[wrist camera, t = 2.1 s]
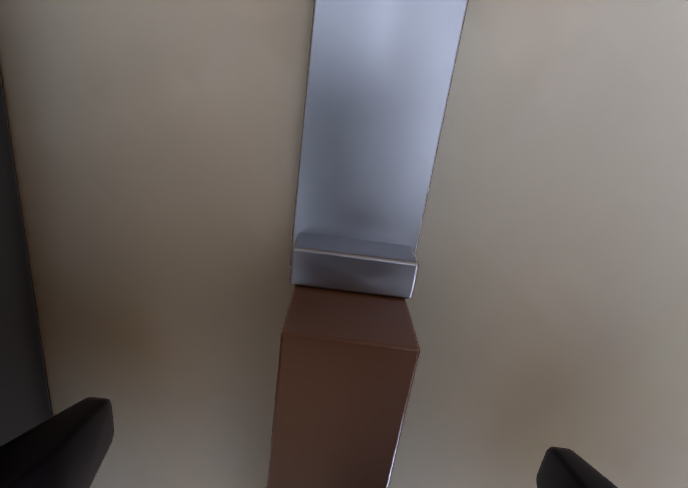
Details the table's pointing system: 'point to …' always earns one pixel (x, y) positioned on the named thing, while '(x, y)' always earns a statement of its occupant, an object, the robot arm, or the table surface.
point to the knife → (359, 237)
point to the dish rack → (17, 311)
